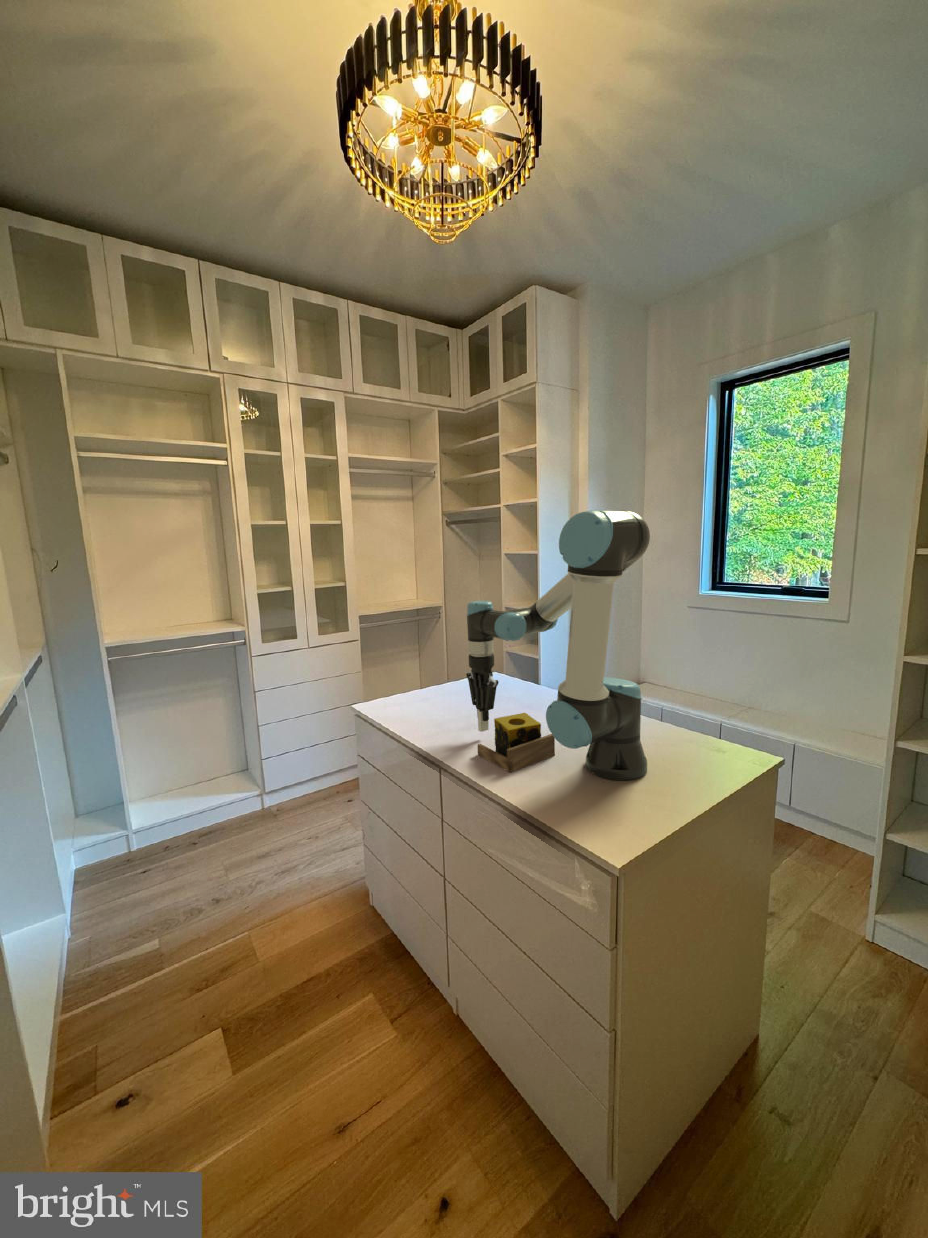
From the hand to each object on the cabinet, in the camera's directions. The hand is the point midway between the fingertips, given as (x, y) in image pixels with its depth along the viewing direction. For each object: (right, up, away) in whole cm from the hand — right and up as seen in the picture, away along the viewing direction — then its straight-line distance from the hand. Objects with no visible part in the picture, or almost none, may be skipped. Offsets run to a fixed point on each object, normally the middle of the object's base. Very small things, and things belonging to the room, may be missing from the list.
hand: (483, 730), depth 149 cm
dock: (+9, -4, -12) cm, 15 cm away
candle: (+9, -5, -11) cm, 15 cm away
